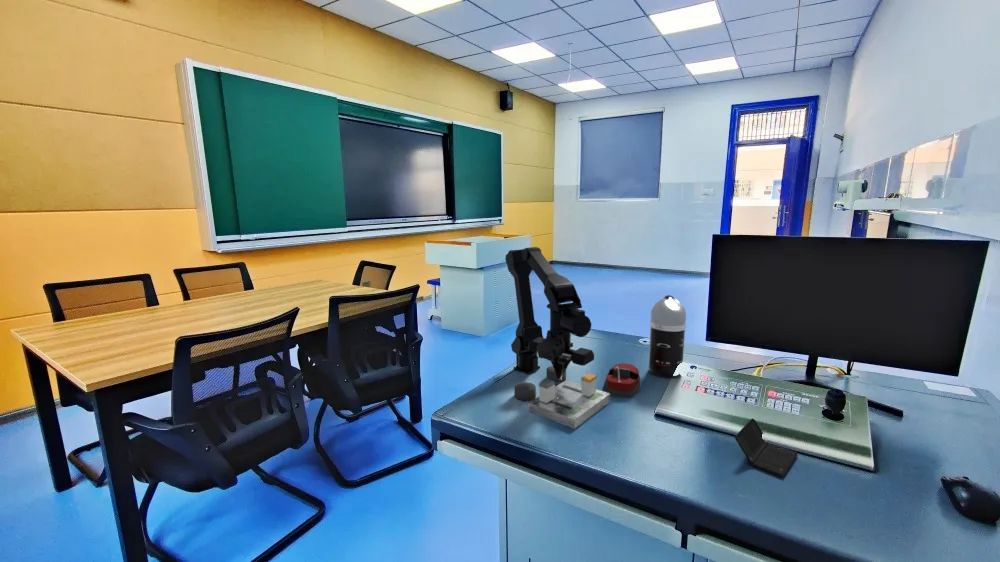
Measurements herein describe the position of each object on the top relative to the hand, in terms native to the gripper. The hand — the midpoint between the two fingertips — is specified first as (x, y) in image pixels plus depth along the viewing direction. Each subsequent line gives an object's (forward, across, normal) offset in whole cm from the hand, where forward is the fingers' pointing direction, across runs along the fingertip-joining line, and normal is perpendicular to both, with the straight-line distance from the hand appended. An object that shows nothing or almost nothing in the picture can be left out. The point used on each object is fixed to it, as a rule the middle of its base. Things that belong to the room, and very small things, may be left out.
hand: (559, 378), depth 121 cm
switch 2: (+1, +10, 0) cm, 10 cm away
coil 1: (+4, -6, -8) cm, 11 cm away
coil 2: (+4, -6, +7) cm, 11 cm away
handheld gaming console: (+4, +51, +2) cm, 51 cm away
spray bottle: (+4, +18, +33) cm, 38 cm away
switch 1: (+1, +3, -10) cm, 11 cm away
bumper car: (+5, +12, +15) cm, 20 cm away
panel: (+4, +7, -5) cm, 10 cm away
